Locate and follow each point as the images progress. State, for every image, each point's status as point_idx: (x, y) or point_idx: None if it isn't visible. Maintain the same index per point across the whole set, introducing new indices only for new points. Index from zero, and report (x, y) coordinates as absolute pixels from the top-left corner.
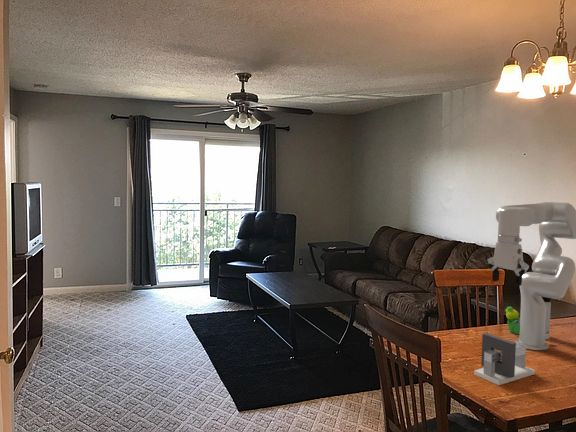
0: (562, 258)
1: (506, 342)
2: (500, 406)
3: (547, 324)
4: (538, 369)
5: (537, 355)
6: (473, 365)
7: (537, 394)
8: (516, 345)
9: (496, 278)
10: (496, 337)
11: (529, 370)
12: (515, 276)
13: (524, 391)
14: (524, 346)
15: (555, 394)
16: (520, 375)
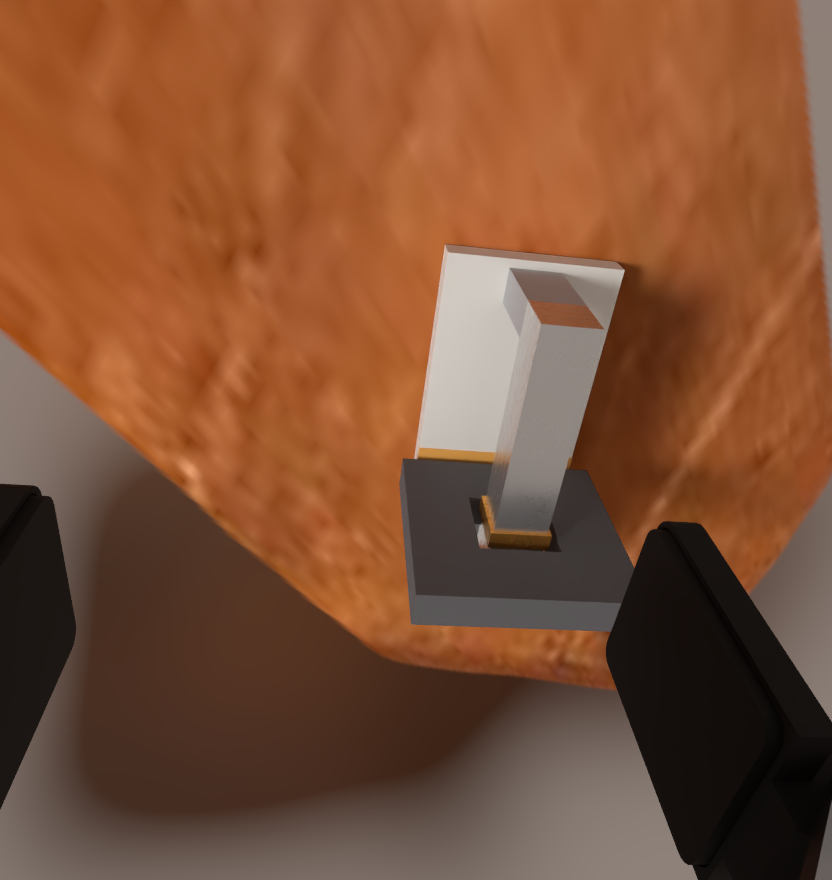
0: None
1: (599, 629)
2: None
3: None
4: (607, 159)
5: None
6: (326, 438)
7: (702, 479)
8: (551, 381)
9: (45, 619)
10: (513, 611)
11: (603, 304)
12: (700, 863)
13: (649, 496)
14: (599, 346)
15: (768, 416)
16: (586, 396)
